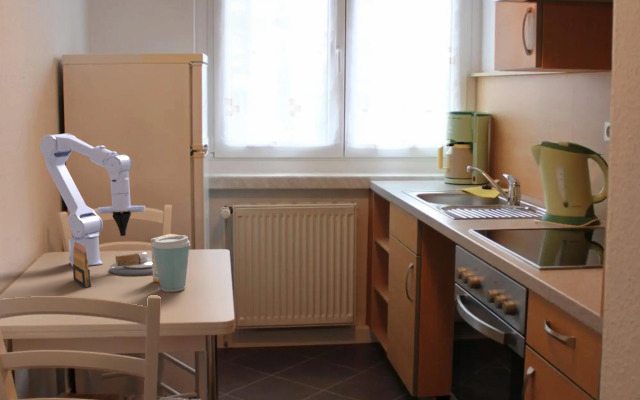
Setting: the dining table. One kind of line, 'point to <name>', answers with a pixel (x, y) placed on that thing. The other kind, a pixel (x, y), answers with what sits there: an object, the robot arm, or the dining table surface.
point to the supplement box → (154, 266)
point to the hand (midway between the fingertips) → (123, 235)
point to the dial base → (130, 271)
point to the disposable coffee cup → (172, 261)
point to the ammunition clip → (81, 266)
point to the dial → (134, 261)
